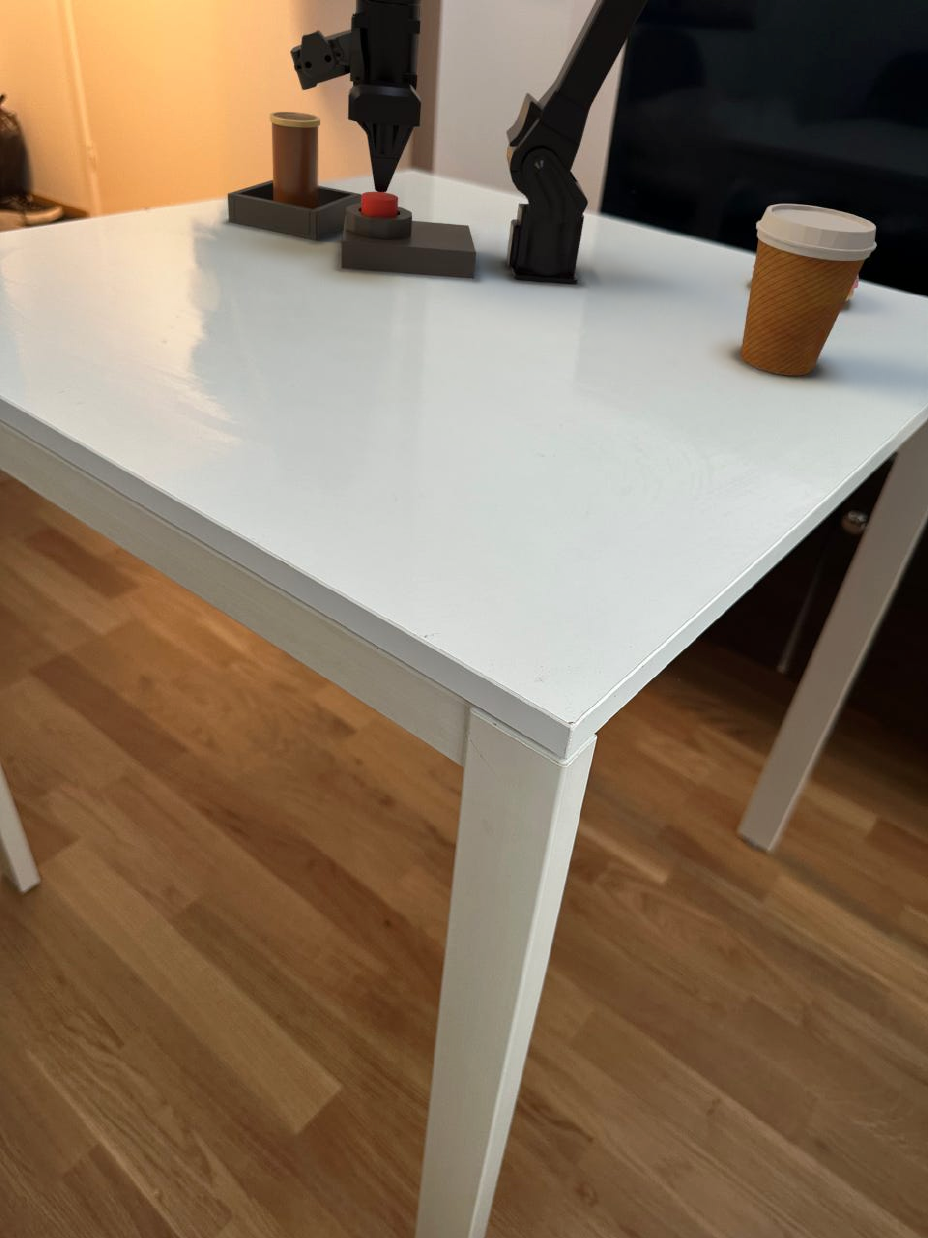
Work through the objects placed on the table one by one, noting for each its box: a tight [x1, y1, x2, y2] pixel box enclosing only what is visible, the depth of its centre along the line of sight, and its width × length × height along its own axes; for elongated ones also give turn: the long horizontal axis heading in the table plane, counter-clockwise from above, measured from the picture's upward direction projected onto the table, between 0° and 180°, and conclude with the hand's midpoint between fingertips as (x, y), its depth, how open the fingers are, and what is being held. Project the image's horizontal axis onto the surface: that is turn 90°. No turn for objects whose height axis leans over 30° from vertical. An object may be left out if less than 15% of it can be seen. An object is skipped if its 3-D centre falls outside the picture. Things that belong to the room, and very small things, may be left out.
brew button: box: [361, 191, 399, 217], centre depth 92 cm, size 4×4×2 cm
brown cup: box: [269, 111, 321, 209], centre depth 99 cm, size 5×5×10 cm
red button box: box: [340, 202, 477, 280], centre depth 94 cm, size 13×10×4 cm
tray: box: [227, 179, 363, 242], centre depth 101 cm, size 11×11×3 cm
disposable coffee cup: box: [739, 203, 878, 376], centre depth 77 cm, size 10×10×12 cm
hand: (380, 190), depth 91 cm, fingers closed
